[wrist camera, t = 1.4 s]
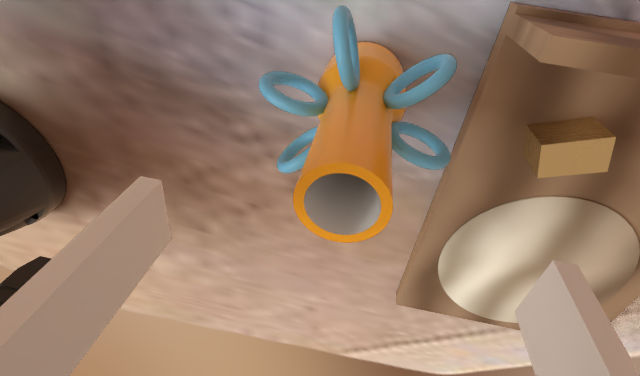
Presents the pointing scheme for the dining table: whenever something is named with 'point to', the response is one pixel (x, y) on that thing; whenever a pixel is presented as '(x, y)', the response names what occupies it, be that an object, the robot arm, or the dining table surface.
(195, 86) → the dining table surface
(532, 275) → the board
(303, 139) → the cylinder
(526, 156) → the wooden block
